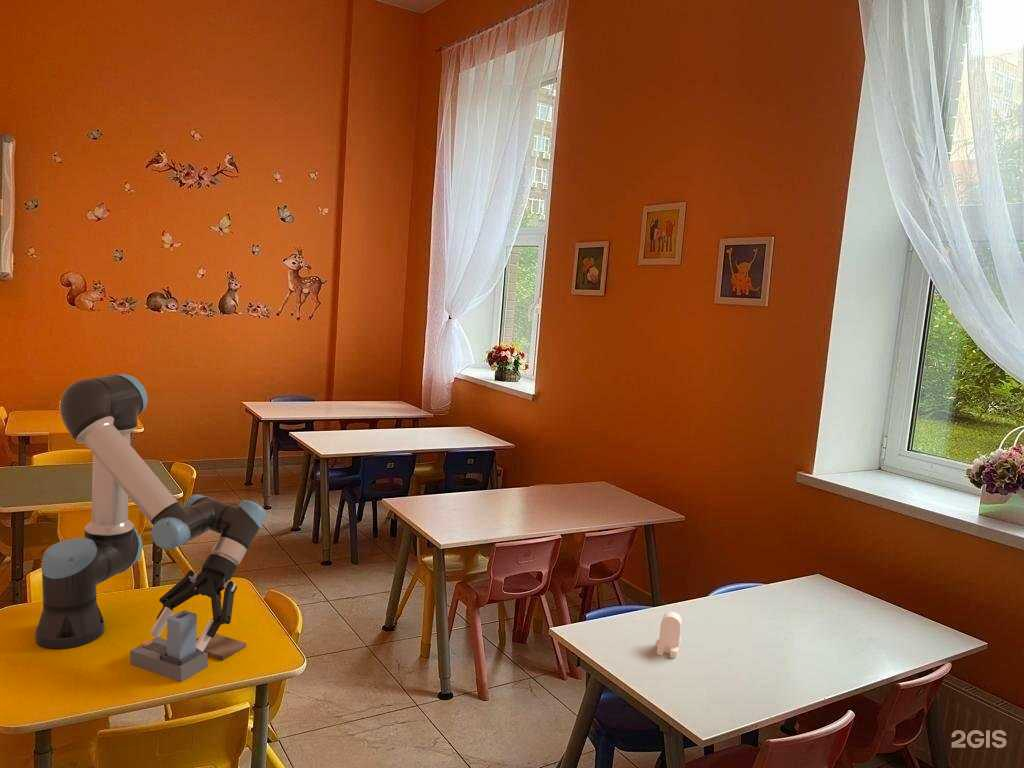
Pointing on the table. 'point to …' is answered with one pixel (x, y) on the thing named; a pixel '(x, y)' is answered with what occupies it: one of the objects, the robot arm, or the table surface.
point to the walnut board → (223, 647)
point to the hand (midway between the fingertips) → (175, 642)
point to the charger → (181, 634)
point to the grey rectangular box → (167, 660)
